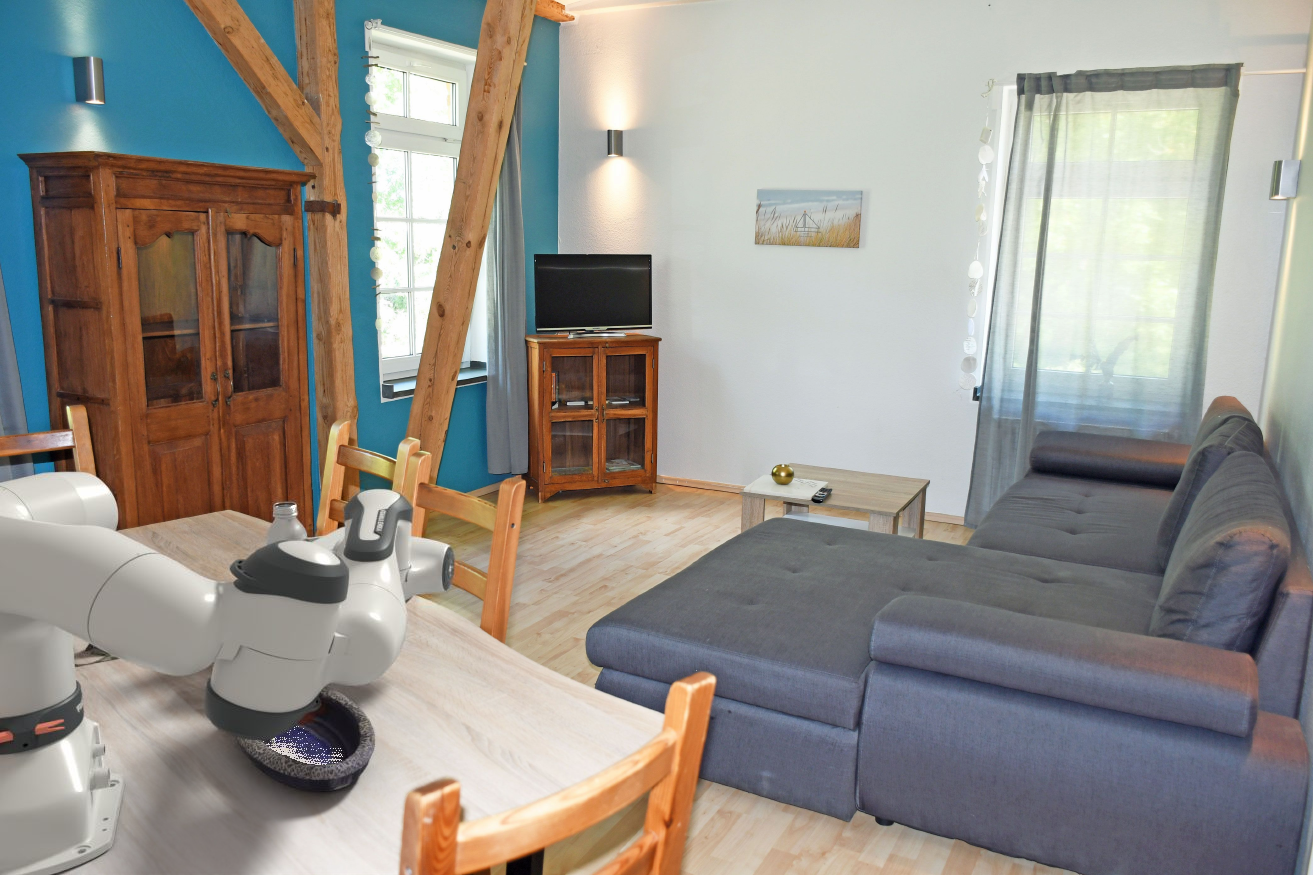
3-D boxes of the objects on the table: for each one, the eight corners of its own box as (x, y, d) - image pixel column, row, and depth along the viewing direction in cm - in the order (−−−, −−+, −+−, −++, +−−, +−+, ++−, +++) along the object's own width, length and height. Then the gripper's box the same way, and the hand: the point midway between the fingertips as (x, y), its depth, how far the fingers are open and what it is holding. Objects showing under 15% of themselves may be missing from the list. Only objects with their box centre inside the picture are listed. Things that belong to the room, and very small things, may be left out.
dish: (279, 823, 112) (277, 784, 111) (209, 719, 136) (206, 685, 135) (405, 780, 122) (404, 743, 121) (319, 689, 145) (318, 658, 144)
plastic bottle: (277, 631, 157) (270, 512, 153) (265, 618, 162) (258, 502, 158) (317, 622, 161) (311, 506, 157) (304, 610, 166) (298, 497, 162)
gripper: (324, 599, 147) (244, 589, 150) (392, 558, 166) (320, 550, 169) (322, 559, 146) (242, 550, 149) (391, 522, 165) (318, 515, 168)
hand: (284, 549), depth 159 cm, fingers open, 6 cm apart
